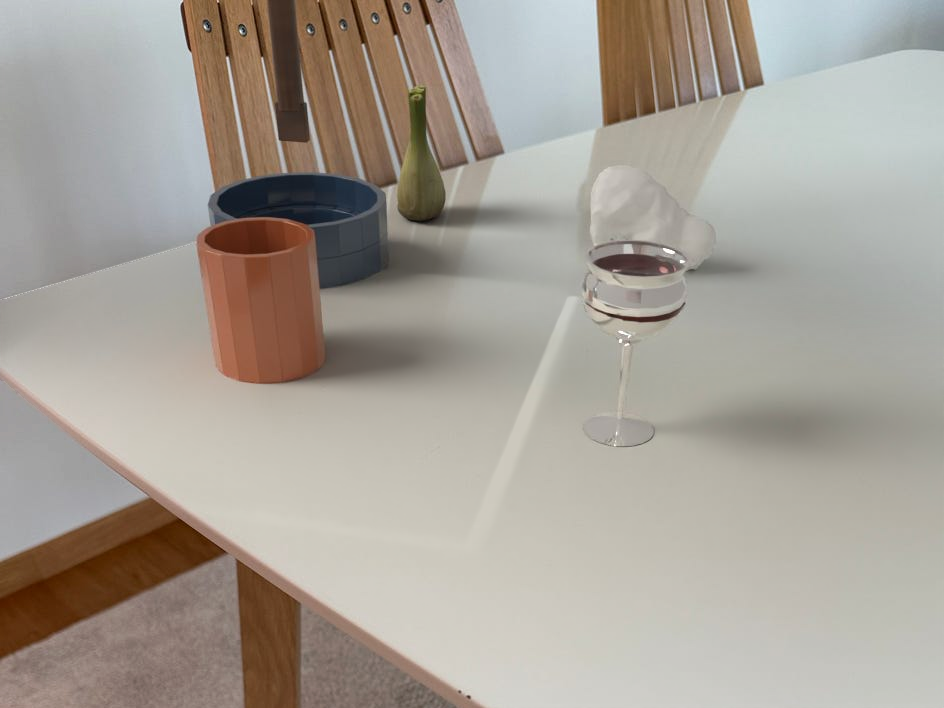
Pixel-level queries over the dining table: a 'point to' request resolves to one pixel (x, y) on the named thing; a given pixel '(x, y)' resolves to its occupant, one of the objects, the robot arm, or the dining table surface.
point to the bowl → (317, 218)
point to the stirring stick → (287, 72)
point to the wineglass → (631, 315)
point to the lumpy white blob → (646, 214)
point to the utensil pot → (262, 298)
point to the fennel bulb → (419, 167)
